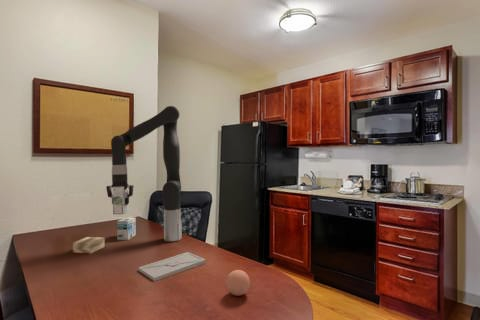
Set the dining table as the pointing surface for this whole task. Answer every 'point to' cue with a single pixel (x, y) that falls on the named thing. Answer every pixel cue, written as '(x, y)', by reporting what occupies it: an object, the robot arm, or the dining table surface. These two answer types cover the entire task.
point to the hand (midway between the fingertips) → (120, 204)
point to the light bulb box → (126, 228)
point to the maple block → (88, 245)
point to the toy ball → (238, 282)
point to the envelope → (171, 266)
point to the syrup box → (119, 200)
